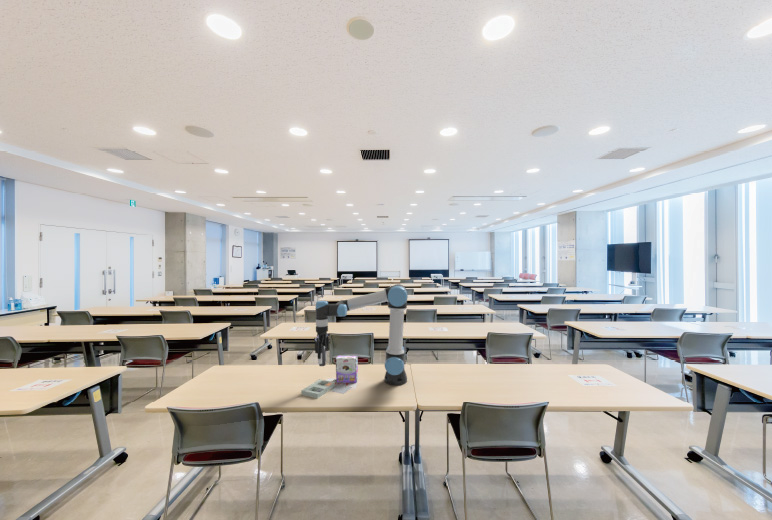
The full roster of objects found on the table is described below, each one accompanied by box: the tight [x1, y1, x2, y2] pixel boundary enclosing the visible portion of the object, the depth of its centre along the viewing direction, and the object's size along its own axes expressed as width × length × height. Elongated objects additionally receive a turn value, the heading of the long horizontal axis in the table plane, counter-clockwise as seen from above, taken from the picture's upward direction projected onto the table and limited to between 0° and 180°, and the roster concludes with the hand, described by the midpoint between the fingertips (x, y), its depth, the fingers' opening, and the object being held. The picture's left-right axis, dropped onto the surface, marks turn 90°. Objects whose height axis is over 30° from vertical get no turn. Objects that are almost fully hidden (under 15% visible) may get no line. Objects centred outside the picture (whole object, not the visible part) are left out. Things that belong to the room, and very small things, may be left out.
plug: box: [318, 345, 326, 367], centre depth 200 cm, size 4×4×12 cm
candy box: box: [335, 355, 359, 384], centre depth 210 cm, size 14×6×16 cm, turn 84°
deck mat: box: [330, 384, 353, 395], centre depth 197 cm, size 10×10×1 cm
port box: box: [300, 379, 336, 399], centre depth 196 cm, size 12×18×3 cm, turn 156°
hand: (322, 362), depth 200 cm, fingers closed on plug, 4 cm apart
